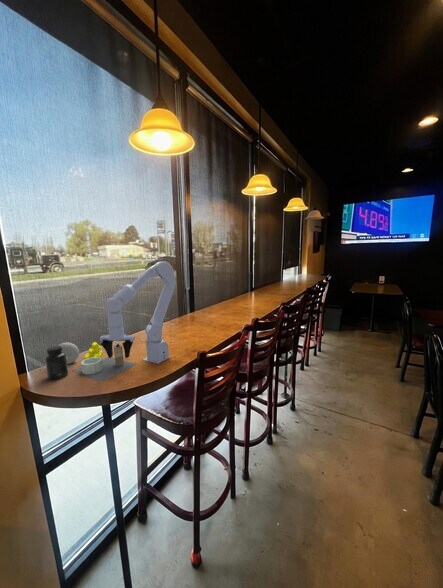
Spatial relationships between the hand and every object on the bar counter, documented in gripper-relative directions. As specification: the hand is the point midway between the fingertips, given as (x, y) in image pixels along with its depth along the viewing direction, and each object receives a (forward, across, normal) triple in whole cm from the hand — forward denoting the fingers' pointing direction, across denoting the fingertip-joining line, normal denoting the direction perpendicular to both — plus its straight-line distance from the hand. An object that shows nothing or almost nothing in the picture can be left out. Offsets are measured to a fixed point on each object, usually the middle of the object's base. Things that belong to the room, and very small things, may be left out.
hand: (118, 357), depth 106 cm
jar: (+3, +8, +6) cm, 11 cm away
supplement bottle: (+4, +19, +12) cm, 23 cm away
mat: (+4, +4, +4) cm, 7 cm away
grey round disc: (+4, +24, +1) cm, 25 cm away
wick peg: (+3, 0, 0) cm, 3 cm away
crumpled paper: (+4, +16, -7) cm, 18 cm away
